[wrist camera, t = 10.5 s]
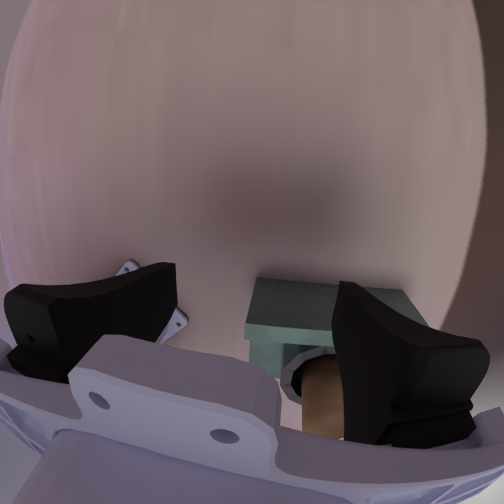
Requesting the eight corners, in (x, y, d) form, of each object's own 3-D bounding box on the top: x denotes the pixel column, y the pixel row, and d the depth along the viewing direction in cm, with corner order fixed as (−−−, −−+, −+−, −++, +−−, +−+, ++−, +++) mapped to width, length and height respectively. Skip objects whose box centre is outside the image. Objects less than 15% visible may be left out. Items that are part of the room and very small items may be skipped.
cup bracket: (371, 376, 25) (385, 424, 19) (249, 369, 26) (239, 421, 20) (402, 290, 22) (433, 333, 15) (256, 277, 23) (245, 323, 17)
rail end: (317, 377, 24) (322, 446, 16) (291, 354, 23) (290, 426, 16) (352, 356, 23) (369, 424, 15) (328, 330, 22) (341, 401, 14)
